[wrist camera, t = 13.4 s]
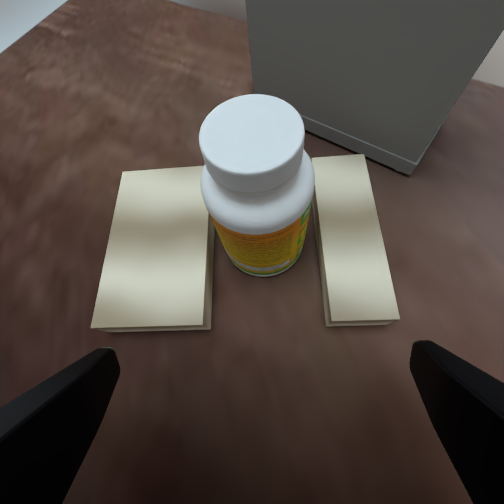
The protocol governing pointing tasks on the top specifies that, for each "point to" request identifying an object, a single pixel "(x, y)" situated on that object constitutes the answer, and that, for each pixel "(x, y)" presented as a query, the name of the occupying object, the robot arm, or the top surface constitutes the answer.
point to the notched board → (202, 251)
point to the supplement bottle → (257, 181)
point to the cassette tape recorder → (371, 66)
